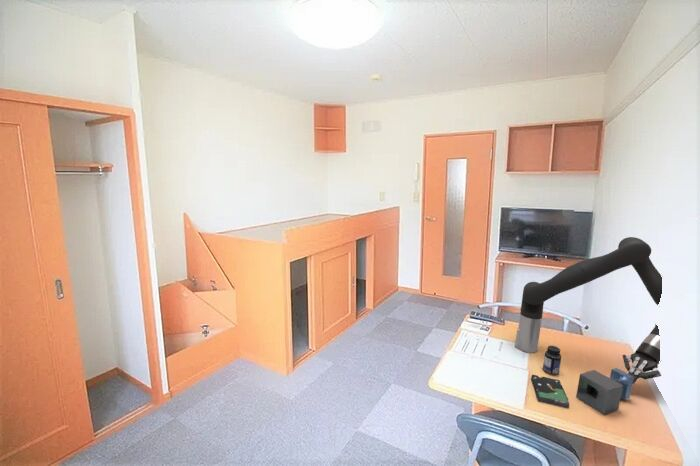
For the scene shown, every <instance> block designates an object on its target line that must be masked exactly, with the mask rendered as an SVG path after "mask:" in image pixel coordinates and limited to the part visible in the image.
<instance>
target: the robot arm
mask: <svg viewBox="0 0 700 466" xmlns="http://www.w3.org/2000/svg"><path fill="white" fill-rule="evenodd" d="M651 253H652V248H651V246H650V245H649V244H648V243H647V242H646V241H644V240H643V239H641V238H639V237H634V236H629V237H625V238H623V239H622V240H620V241H619V243H618V246H617V249H614V250H613V251H611V252H608V253H606V254H603V255H600V256H597V257H596V256H595V257H592V258H588V259H583V260H581V261H578V262H576V263H574V264H572V265H570V266H568V267H565V268H564V269H563V270H562V269H561V271H560V272H558V273H557V274H556V275H554V276H553V277H551V278H550V279H547V280H545V281H543V282H541V283H540V282H537V281H530V282H527V283H526V284H525V285H524V287H523V289H522V297H521V304H520V305H521V307H520V312H519V321H518V327H517V329H516V335H515V336H516V338H515V344H514V345H515V346H514V347H515V348H516V349H518V350H520V351H522V352H525V353H528V354H529V353H530V354H531V353H532V354H533V353H536V352H538V347H539V339H540V334H541V327H542V321H543V314H544V313H543V311H544V305H545V304H544V303H545V302H546V301H548V300H549V299H551V298H554V297H555V296H558V295H559V294H563V293H565V292H568V291H570V290H574V289H575V288H578V287H580V286H584V285H585V284H588V283H590V282H593V281H594V280H597V279H600V278H601V277H604V276H606V275H608V274H610V273H612V272H614V271H615V272H616V271H617V270H620V269H623V268H625V267H629V266H631V267H632V268H633V269H634V270H635V272H636V274H637V275H638V277H639V278H640V280H641V282H642V284H643V285H644V287H645V288H646V291H647V292H648V293H649V295H650V297H651V299H652V301H654V303H655V304H656V305H657V306H658V304H659V302H660V298H661V294H662V277H663V276H662V274H661V273H660V272H659V271H658V269H657V268H656V267H655V265H654V264H653V261H652V260H651V258H650V256H651ZM661 276H662V277H661ZM622 359H623V363H624V367H625V369H626V371H627V374H629V375H631V376H633V377H634V380H633V385H634V384H635V383H636V382H637V381H638V379H643V380H649V379H655V378H659V377H662V374H661V372H660V371H659V369H658V368H659V364H660V363H659V361H660V335H659V329H658V326H657V325H656V324H655V326H654V327H653V329H652V330H651V331H650V333H649V334H648V335H647V336H645V338H644V339H643V341H642V342H641V343H640V344H639V346H638V347H637V349H636V350H635V352H634V353H632V354H630V355H626V354H623V355H622ZM630 362H631V363H632V364H631V365H630ZM660 362H661V361H660Z"/></svg>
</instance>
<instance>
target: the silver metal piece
mask: <svg viewBox="0 0 700 466" xmlns="http://www.w3.org/2000/svg"><path fill="white" fill-rule="evenodd" d="M609 378H610V379H612V380H614V381H616V382H617V383H619V384H621V385H623V389H622V394H621V398H620V399H623V400H625V401H627V400H628V399H630V398H631V392H632V389H633V385H634V384H633V380H634V377H633V376H631V375H629V374H628V372H625V371H623V370H621V369H620V368H618V367H615V368H612V369H611V371H610V375H609ZM593 389H594V391H595V392H596V393H597V394H598V390H597V389H596V388H594V387H593Z"/></svg>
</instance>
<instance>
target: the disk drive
mask: <svg viewBox="0 0 700 466" xmlns="http://www.w3.org/2000/svg"><path fill="white" fill-rule="evenodd" d="M530 380H531V383H532V386H533V389H534V392H535V396H536V399H537V402H539V403H543V404H547V405H553V406H557V407H560V408H566V409H569V408H570V401H569V398H568V396H567V394H566V392H565V389H564V387H563V385H562V382H561V381H560V379H556V378H551V377H546V376H542V377H540V376H538V375H536V374H531V378H530Z"/></svg>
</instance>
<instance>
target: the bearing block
mask: <svg viewBox="0 0 700 466" xmlns="http://www.w3.org/2000/svg"><path fill="white" fill-rule="evenodd" d="M578 378H579V379H578V385H577V390H576V397H575V398H576V399H578V400H580V401H582V402H583V403H584V404H586V405H587V406H589V407H590V408H592V409H594V410H595V411H597V412H598V413H600V415H603V416H605V414H606V415H608V414H611V413H614V412H616V411H619V407H620V402H621V399H622V398H621V394H622V389H623V385H621V384H619V383H617V382H616V381H614V380H612V379H610V377H608V376H606V375H604V374H603V373H601V372H599V371H598V370H595V369H593V370H589V371H585V372H582V373H580V374H579V377H578ZM593 387H594V388H596V389H597V390H598V394H597V393H596V392H595V391H594V389H593Z"/></svg>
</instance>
